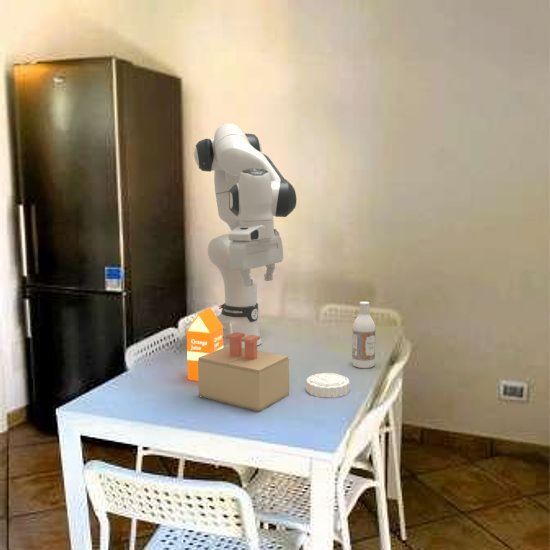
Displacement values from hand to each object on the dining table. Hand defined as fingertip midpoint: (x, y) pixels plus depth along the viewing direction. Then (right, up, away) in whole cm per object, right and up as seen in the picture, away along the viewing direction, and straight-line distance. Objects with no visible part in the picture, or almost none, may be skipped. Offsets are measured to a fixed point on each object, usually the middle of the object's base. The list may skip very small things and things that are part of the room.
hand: (258, 283), depth 163 cm
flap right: (0, -21, -1) cm, 21 cm away
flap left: (-8, -20, +4) cm, 22 cm away
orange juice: (-16, -28, +19) cm, 38 cm away
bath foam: (+32, -26, +28) cm, 50 cm away
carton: (-4, -30, +3) cm, 31 cm away
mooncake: (+19, -30, +7) cm, 36 cm away
